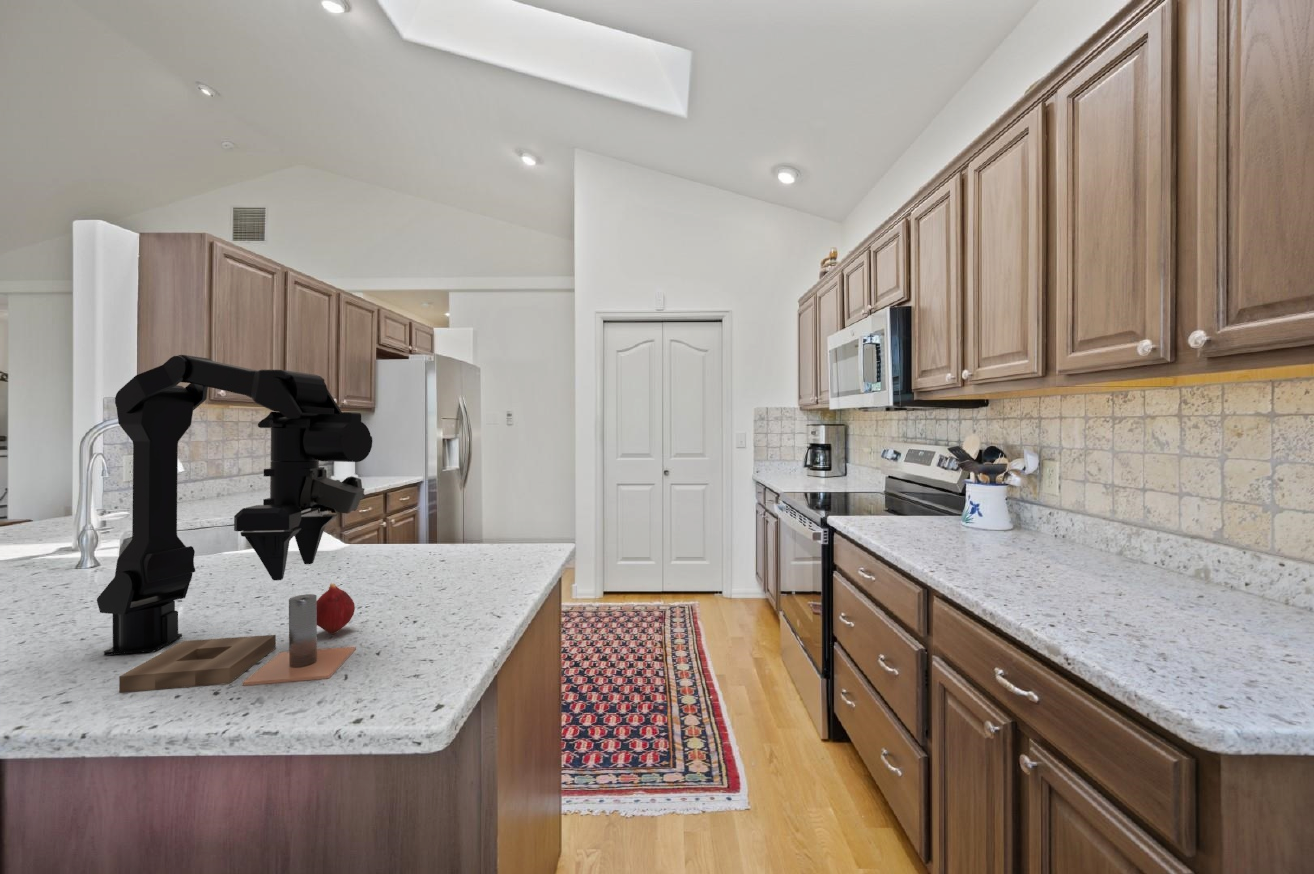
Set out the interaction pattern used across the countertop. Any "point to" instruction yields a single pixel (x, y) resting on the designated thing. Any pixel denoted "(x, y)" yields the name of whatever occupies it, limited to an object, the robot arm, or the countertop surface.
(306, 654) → the peg
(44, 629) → the countertop surface
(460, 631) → the countertop surface
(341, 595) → the onion
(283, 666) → the tile
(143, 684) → the plate
